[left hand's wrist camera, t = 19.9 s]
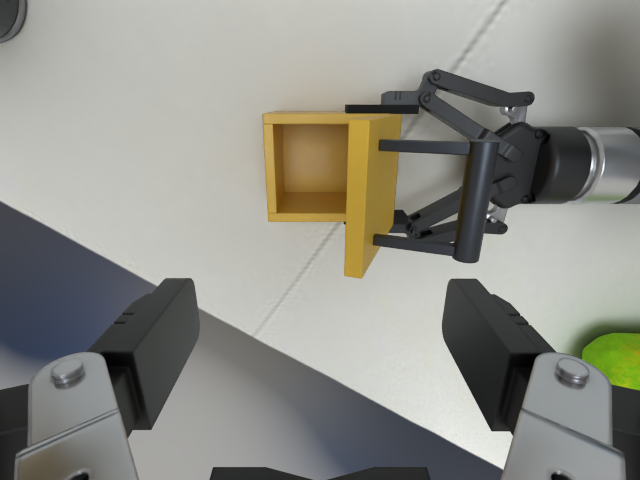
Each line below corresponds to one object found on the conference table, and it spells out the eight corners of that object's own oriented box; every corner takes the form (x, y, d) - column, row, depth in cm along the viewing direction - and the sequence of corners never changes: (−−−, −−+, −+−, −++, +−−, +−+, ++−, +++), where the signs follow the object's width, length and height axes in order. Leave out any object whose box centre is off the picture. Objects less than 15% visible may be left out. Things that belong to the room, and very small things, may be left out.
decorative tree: (508, 424, 44) (782, 324, 38) (475, 366, 54) (689, 278, 47) (553, 508, 49) (799, 432, 43) (516, 441, 59) (713, 371, 53)
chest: (278, 197, 44) (268, 221, 34) (275, 111, 40) (262, 113, 31) (371, 197, 44) (385, 222, 35) (376, 111, 40) (393, 113, 31)
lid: (343, 276, 24) (477, 298, 21) (348, 119, 20) (510, 122, 17) (380, 223, 34) (472, 234, 31) (387, 114, 31) (492, 115, 28)
